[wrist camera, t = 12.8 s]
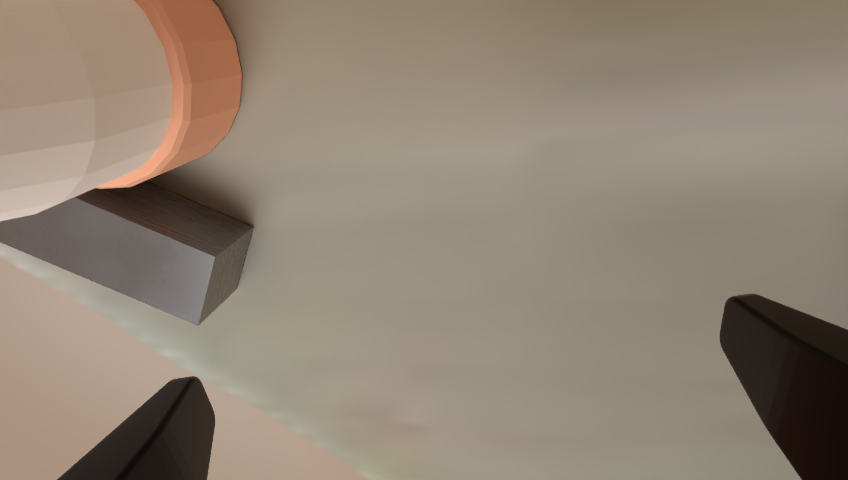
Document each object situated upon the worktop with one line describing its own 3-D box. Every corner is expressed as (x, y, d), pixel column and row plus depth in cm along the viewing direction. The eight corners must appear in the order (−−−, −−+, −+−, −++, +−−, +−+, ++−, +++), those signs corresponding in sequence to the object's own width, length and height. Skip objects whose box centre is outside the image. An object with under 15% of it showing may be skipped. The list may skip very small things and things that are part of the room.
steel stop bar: (253, 227, 21) (215, 256, 19) (236, 288, 22) (198, 325, 20) (-29, 107, 21) (-109, 120, 18) (-31, 176, 22) (-106, 197, 20)
